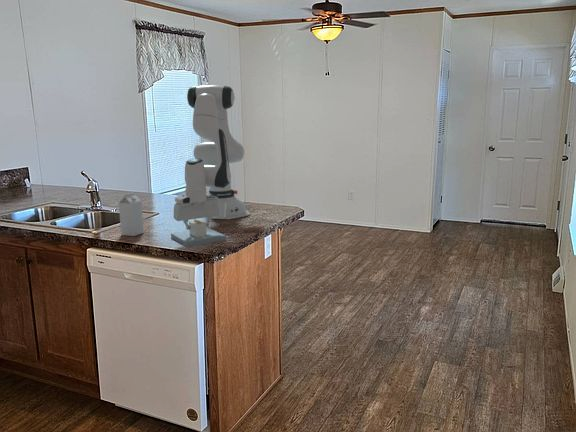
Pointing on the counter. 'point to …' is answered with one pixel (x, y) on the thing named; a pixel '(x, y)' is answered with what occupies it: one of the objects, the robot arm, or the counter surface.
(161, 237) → the counter surface
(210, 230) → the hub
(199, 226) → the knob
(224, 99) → the robot arm
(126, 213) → the milk carton
